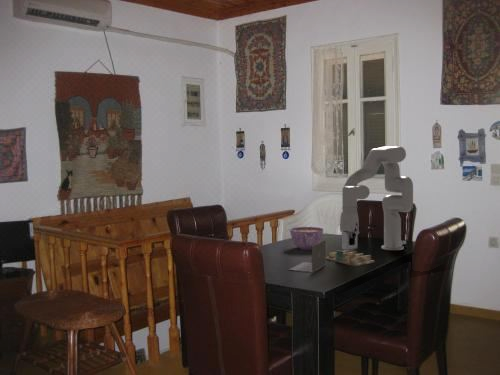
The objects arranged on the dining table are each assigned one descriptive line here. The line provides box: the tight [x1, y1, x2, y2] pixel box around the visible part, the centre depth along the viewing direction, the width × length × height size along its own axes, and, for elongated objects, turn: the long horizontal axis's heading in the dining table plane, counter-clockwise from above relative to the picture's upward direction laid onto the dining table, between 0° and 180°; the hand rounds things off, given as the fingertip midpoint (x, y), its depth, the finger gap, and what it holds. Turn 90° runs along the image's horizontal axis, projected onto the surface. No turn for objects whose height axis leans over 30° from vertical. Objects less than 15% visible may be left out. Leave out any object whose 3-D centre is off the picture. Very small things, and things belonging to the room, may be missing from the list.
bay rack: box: [326, 249, 375, 267], centre depth 268 cm, size 14×22×6 cm, turn 32°
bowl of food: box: [289, 226, 324, 251], centre depth 303 cm, size 20×20×12 cm
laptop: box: [288, 240, 327, 274], centre depth 254 cm, size 18×12×13 cm
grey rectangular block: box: [341, 231, 358, 251], centre depth 267 cm, size 3×8×9 cm, turn 122°
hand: (349, 244), depth 267 cm, fingers closed on grey rectangular block, 3 cm apart
